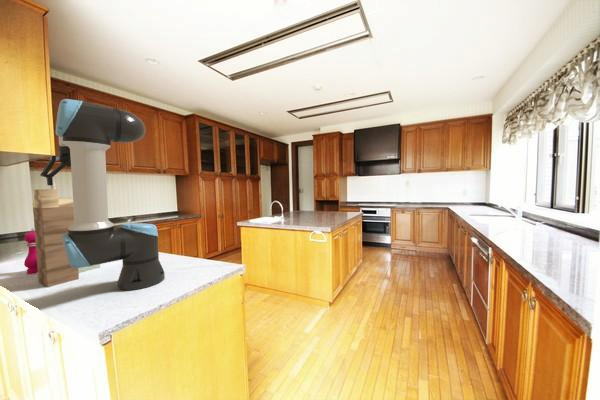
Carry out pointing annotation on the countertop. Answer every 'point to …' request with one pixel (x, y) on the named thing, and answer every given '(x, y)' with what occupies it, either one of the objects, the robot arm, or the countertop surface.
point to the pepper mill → (31, 253)
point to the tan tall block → (50, 199)
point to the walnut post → (53, 245)
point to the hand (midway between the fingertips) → (73, 192)
